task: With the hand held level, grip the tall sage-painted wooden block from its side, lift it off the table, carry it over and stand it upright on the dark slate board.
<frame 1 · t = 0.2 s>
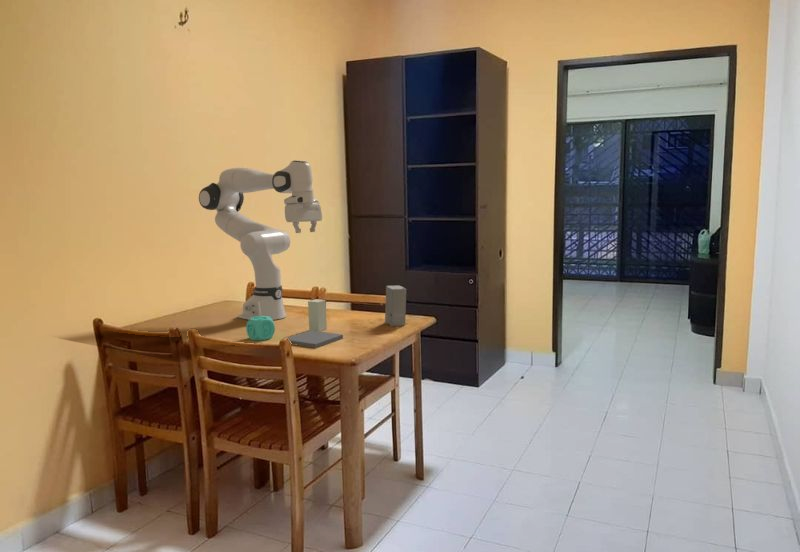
hand: (305, 232, 256), 39 cm above the table, tool pointing down, fingers open, 8 cm apart
sage block: (318, 329, 248), on the table
skincare box: (396, 324, 256), on the table
decorative dice: (261, 338, 237), on the table
slate board: (313, 340, 231), on the table
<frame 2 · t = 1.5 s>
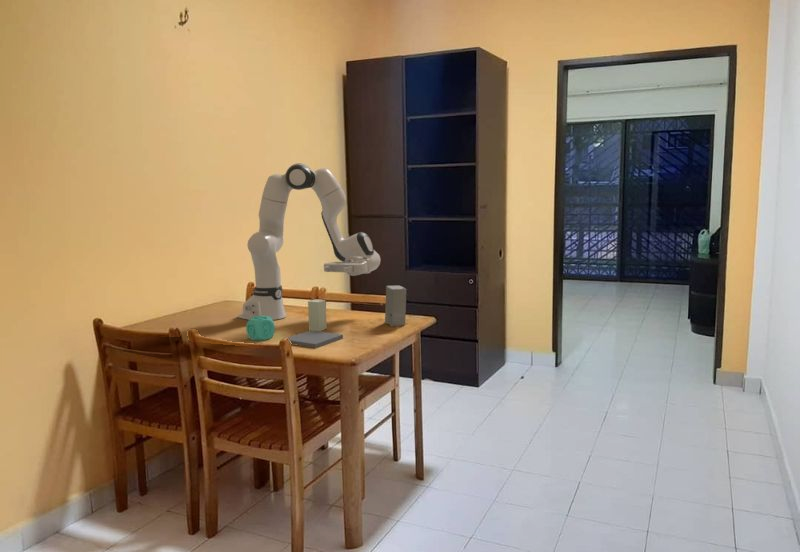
hand: (334, 270, 255), 23 cm above the table, tool horizontal, fingers open, 8 cm apart
nothing on the table moved.
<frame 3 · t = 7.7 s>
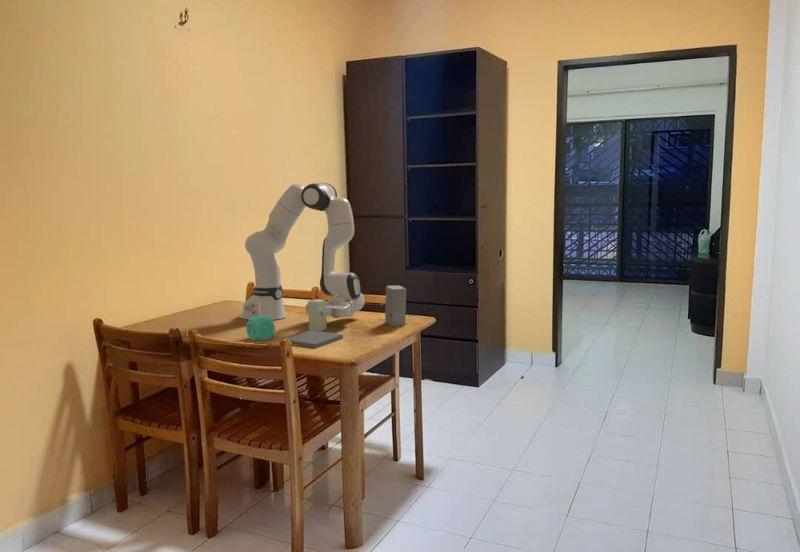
hand: (315, 313, 247), 7 cm above the table, tool horizontal, fingers closed on sage block, 5 cm apart
sage block: (318, 329, 248), on the table, touching gripper
everything else where it was.
when the fingers open (10 cm above the table, at t = 15.3 s): sage block drops 1 cm, resting on slate board.
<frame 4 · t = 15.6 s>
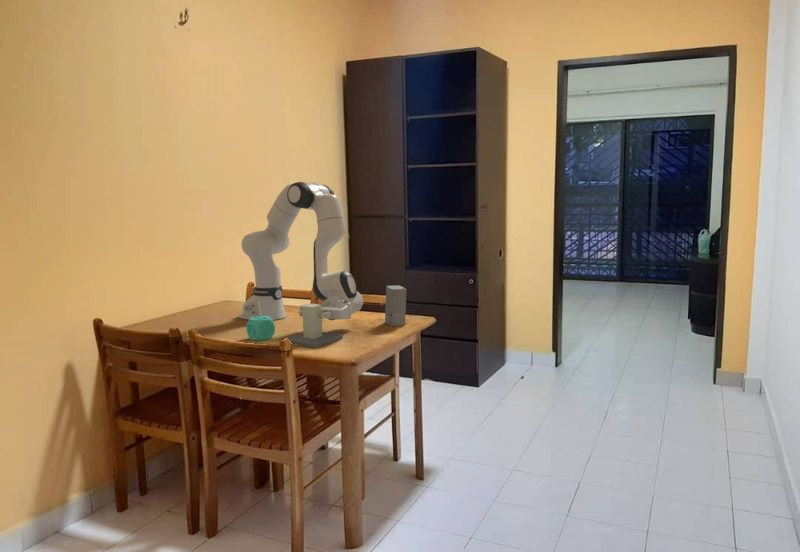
hand: (310, 315, 228), 10 cm above the table, tool horizontal, fingers open, 8 cm apart
sage block: (313, 336, 230), point 1 cm above the table, touching slate board
everything else where it was.
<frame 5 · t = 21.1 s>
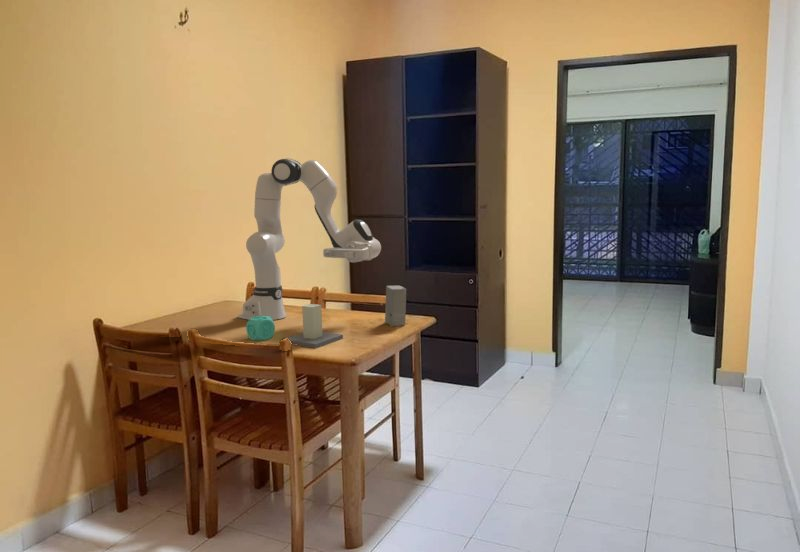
hand: (334, 255, 247), 30 cm above the table, tool horizontal, fingers open, 8 cm apart
nothing on the table moved.
at the end: sage block inside the target area on the slate board (0.0 cm from its centre), point 1.5 cm above the slate board's base; sage block tilted 0°; the gripper is holding nothing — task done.
